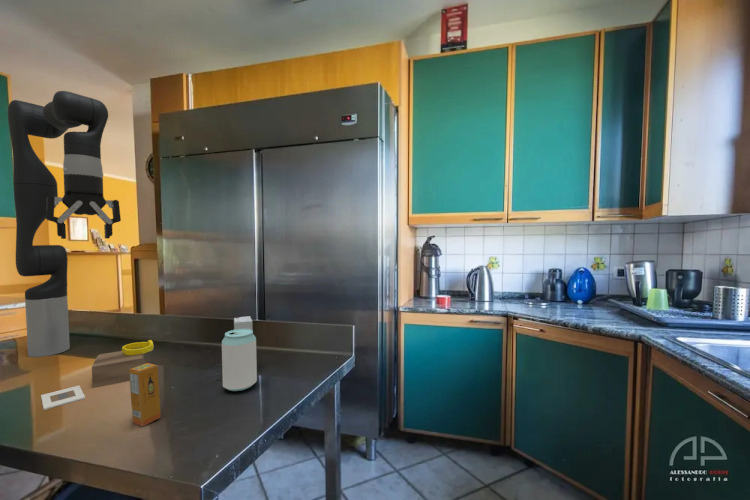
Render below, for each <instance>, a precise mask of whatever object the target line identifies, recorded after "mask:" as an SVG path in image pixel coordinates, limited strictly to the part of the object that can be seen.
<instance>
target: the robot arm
mask: <svg viewBox="0 0 750 500" xmlns="http://www.w3.org/2000/svg"><path fill="white" fill-rule="evenodd" d="M108 120H109V111H108V108H107V106H106V105H105V104H104V102H102V101H100V100H99V99H95V98H94V97H93V98H92V97H88V96H85V95H83V94H82V95H81V94H78V93H75V92H71V91H66V90H59V91H56V92H55V93H54V95H53V97H52V101H49V102H48V103H47V104H45V106H43V105H39V104H35V103H31V102H27V101H23V100H19V99H18V100H17V99H12V100H11V101H10V102H9V104H8V108H7V121H8V128H9V129H8V130H9V136H10V141H11V142H10V143H11V149H12V166H13V167H12V169H13V171H12V172H13V179H12V180H13V182H12V185H13V199H14V208H15V209H14V210H15V218H16V219H15V220H16V236H15V268H16V271H17V273H18V274H19V276H21V277H38V276H49V275H50V277H49V278H48V280H45V281H44V282H43V283H41V284H38V285H35V286H33V287H29V288H28V289H26V290H25V292H24V303H25V323H26V324H25V326H26V341H27V342H26V343H27V345H26V346H27V356H28V357H30V358H40V357H42V358H43V357H47V356H48V357H49V356H53V355H57V354H60V353H64V352H66V351H69V350H70V348H71V347H70V346H71V345H70V328H69V327H70V326H69V325H70V324H69V304H68V301H69V300H68V262H69V261H68V257H69V256H68V251H67V250H66V247H64V246H63V245H60V244H40V245H39V244H35V245H33V244H34V238H35V235H36V233H37V231H38V229H39V228H40V227H41V225H42V224H43V223H44V221H45V220H47V221H49V222H53V223H55V224H56V231H57V232H56V234H57V237H60V238H61V240H62V239H63V240H65V239H67V235H66V233H67V231H66V228H67V226H66V224H65V221H66V220H67V219H68V218H70V217H71V216H72V215H73V214H74V215H77V216H81V215H82V216H83V215H86V216H95V215H96V216H97V217H98V218H99V219H100V220H102V221H103V223H104V239H110V238H111V237H112V236H113V225H114V224H116V223H120V222H121V221H122V220H121V219H122V218H121V211H120V208H121V207H120V201H119V200H118V199H113V200H109V199H108V200H107V199H105V197H104V171H103V165H102V157H101V156H102V155H101V143H102V139H103V134H104V131H105V128H106V125H107V122H108ZM82 125H83V126H87V130H86V131H68V130H69V129H72V128H77V127H80V126H82ZM62 135H63V164H62V167H63V169H62V170H63V191H64V192H63V193H64V194H63V197H59V195H58V193H59V192H58V182H57V179H56V177H55V176H54V175H53V172H51V171H50V169H49V168H48V167H47V165H45V163H43V161H42V160H41V158H40V157H38V155H37V154H36V152H35V151H34V148H33V146H32V145H31V142H30V139H29V136H32V137H33V136H34V137H39V138H44V139H50V140H51V139H57V138H60V137H61V136H62ZM60 202H62V203H63V205H64V206H66V208H67V209H66V210H64V212H63V213H62V214H61V215H60V216H59V217H57V216H55V209H56V207H57V206H58V205H59V203H60ZM106 205H107V206H108V208H109V209H111V211H112V218H110V217H109V216H108V215H107V213H106V212H104V211H103V208H104V207H105V206H106Z"/></svg>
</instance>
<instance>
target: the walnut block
mask: <svg viewBox="0 0 750 500" xmlns="http://www.w3.org/2000/svg"><path fill="white" fill-rule="evenodd" d="M136 349H140V348H136ZM143 364H145V353H144V354H138V355H125V354H124V353H122V350H118V351H113V352H107V353H100V354H98V355H97V356H96V358H95V360H94V362H93V364H92V366H91V381H92V383H91V384H92V389H95V388H100V387H105V386H106V387H107V386H110V385H116V384H121V383H126V382H130V378H129V369H132V368H135V367H137V366H140V365H143Z"/></svg>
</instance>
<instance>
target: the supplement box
mask: <svg viewBox="0 0 750 500" xmlns="http://www.w3.org/2000/svg"><path fill="white" fill-rule="evenodd" d="M129 378H130V381H129V390H130V391H129V392H130V400H131V401H130V402H131V417H132V423H133V424H134V425H137V426H139V427H145V426H147V425H149V424H151V423H153V422H154V421H157V420H159V419H161V416H162V415H161V413H162V412H161V401H160V385H159V366H158V365H157V364H153V363H148V362H146V363H144V364H143V365H140V366H137V367H135V368H132V369H129Z"/></svg>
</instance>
